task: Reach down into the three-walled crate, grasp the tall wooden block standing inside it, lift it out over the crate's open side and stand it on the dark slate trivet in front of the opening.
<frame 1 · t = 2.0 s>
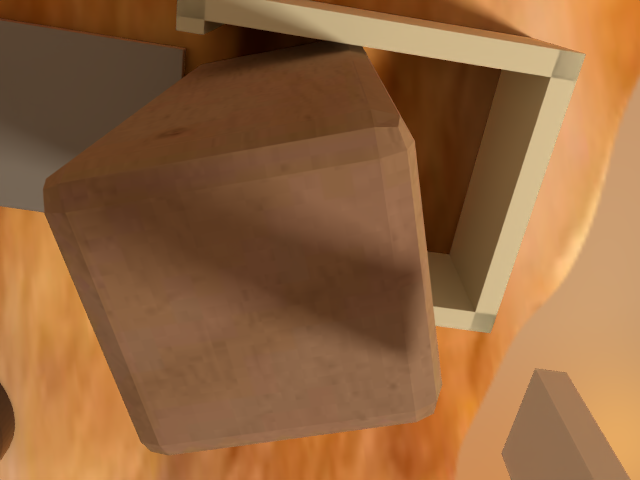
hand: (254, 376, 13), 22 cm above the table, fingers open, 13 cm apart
trivet: (88, 128, 34), on the table
crate: (349, 143, 34), on the table
wooden block: (291, 134, 34), on the table
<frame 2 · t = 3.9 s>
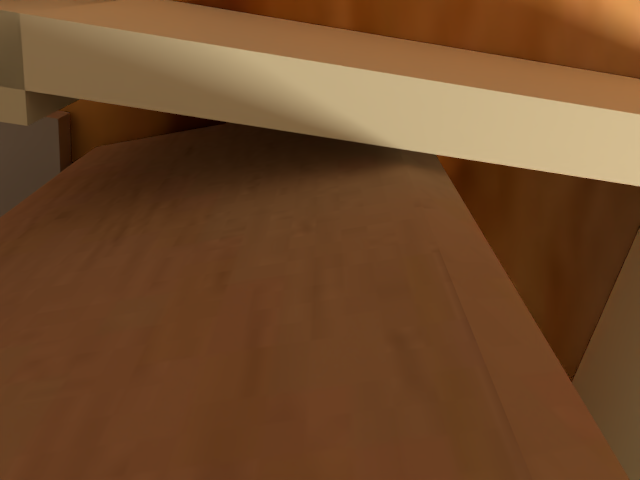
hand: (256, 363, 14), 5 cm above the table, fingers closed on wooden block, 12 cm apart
crate: (378, 278, 19), on the table
wooden block: (275, 260, 19), on the table, touching gripper
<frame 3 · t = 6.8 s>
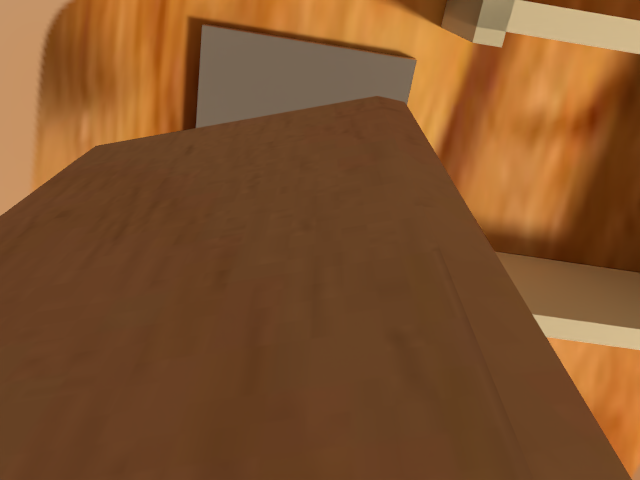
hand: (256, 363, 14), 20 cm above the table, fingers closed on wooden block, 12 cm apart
trivet: (296, 143, 32), on the table
crate: (571, 159, 32), on the table
wooden block: (275, 259, 19), point 14 cm above the table, touching gripper
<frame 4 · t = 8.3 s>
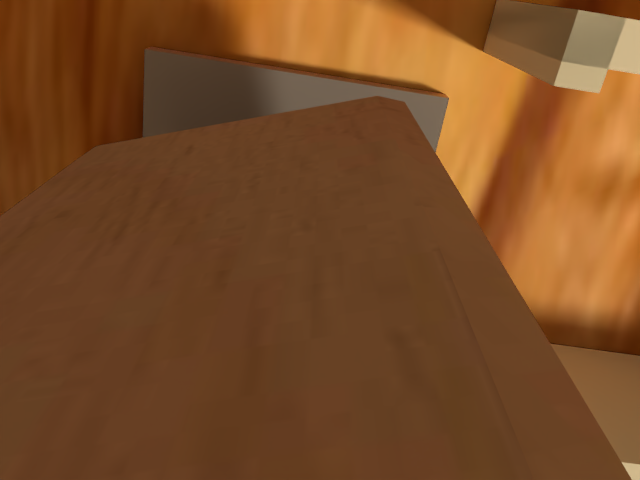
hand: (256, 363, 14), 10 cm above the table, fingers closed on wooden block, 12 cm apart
trivet: (281, 206, 23), on the table
wooden block: (275, 259, 19), point 5 cm above the table, touching gripper
when the fingers open (7 cm above the table, at t = 9.7 s): wooden block stays where it is, resting on trivet.
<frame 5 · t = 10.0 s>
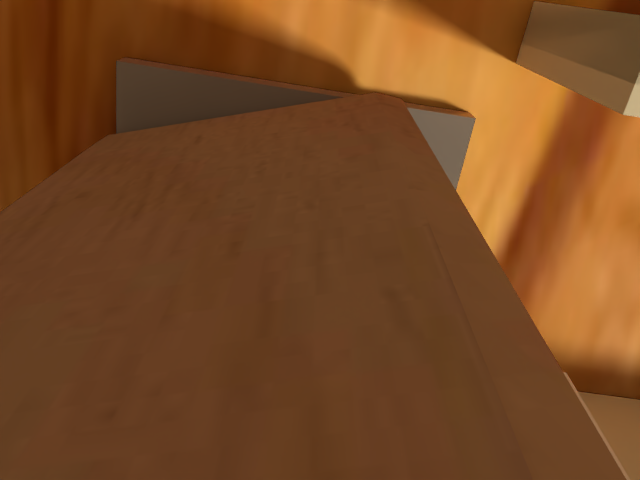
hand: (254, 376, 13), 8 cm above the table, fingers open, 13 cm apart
trivet: (278, 240, 20), on the table
wooden block: (275, 248, 20), point 1 cm above the table, touching trivet
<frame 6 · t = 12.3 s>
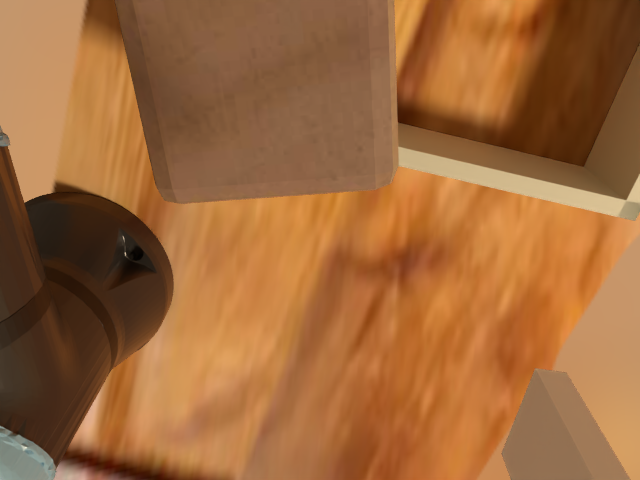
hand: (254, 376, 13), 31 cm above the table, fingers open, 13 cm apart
crate: (517, 58, 40), on the table
wooden block: (295, 27, 39), point 1 cm above the table, touching trivet
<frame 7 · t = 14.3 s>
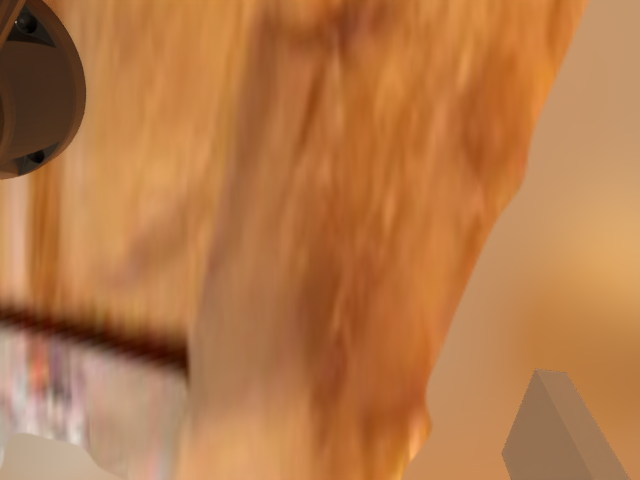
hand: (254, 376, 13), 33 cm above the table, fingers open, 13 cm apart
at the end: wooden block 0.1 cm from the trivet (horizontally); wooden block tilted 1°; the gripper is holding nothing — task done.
